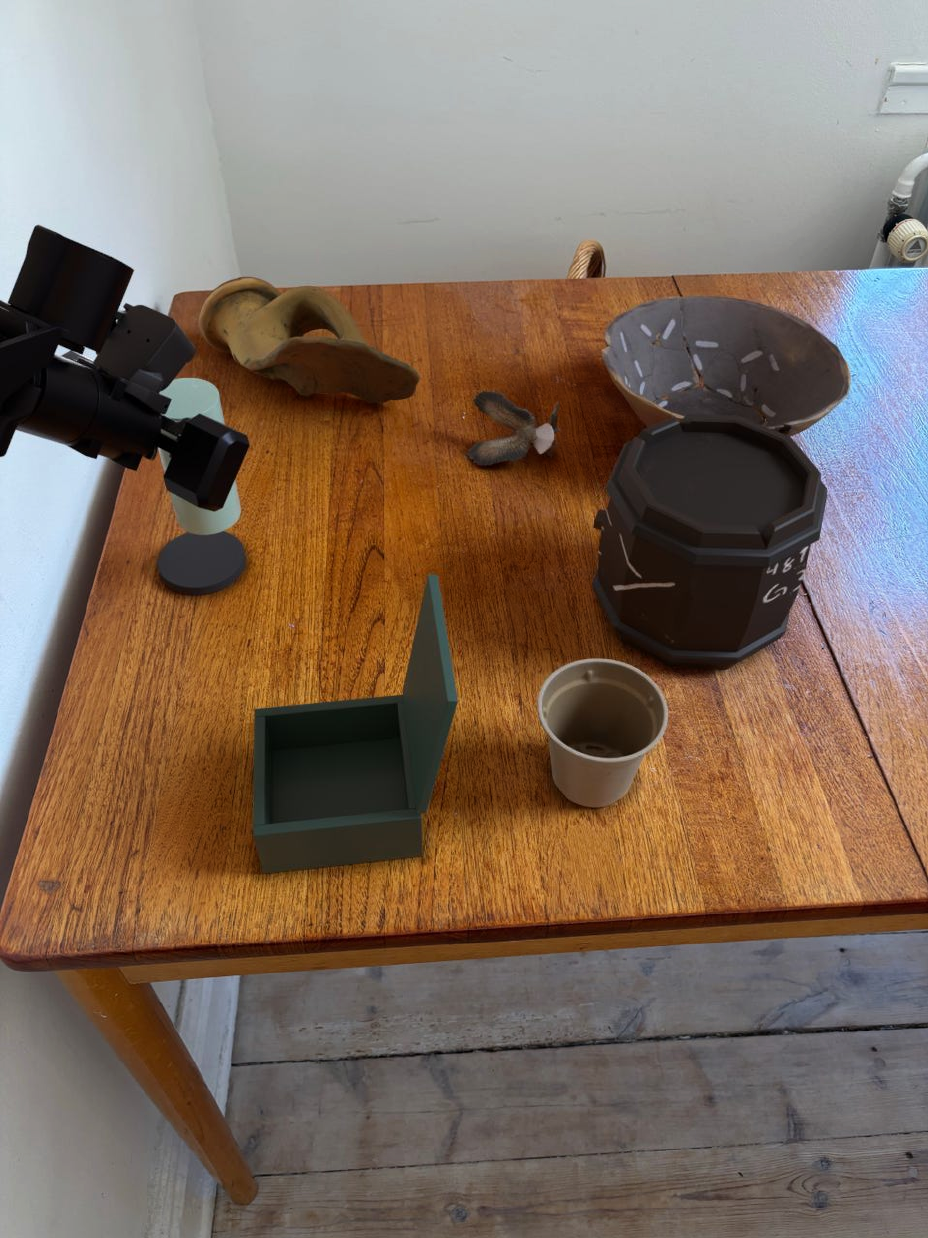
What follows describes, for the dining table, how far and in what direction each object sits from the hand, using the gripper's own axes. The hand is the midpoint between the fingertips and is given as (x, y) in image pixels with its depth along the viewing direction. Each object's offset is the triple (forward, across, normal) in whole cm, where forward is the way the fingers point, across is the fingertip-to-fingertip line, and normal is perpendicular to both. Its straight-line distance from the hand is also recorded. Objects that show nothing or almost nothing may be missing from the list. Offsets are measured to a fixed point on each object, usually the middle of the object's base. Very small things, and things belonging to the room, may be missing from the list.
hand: (208, 452), depth 85 cm
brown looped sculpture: (+28, +14, -9) cm, 33 cm away
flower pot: (+9, -39, +10) cm, 41 cm away
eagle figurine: (+31, -12, -12) cm, 35 cm away
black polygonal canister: (+24, -36, -5) cm, 44 cm away
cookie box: (0, -25, +19) cm, 31 cm away
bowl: (+42, -26, -23) cm, 54 cm away
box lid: (-5, -29, +8) cm, 31 cm away
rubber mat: (+9, +3, +10) cm, 14 cm away
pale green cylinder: (+3, 0, +5) cm, 6 cm away
